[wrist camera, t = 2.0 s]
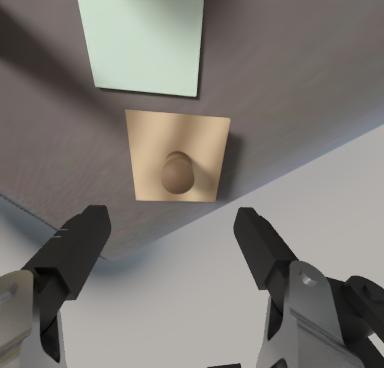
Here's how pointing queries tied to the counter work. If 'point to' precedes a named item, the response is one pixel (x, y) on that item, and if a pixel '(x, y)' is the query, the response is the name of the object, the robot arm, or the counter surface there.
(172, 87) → the mat
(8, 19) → the counter surface
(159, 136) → the lid
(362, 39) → the counter surface
